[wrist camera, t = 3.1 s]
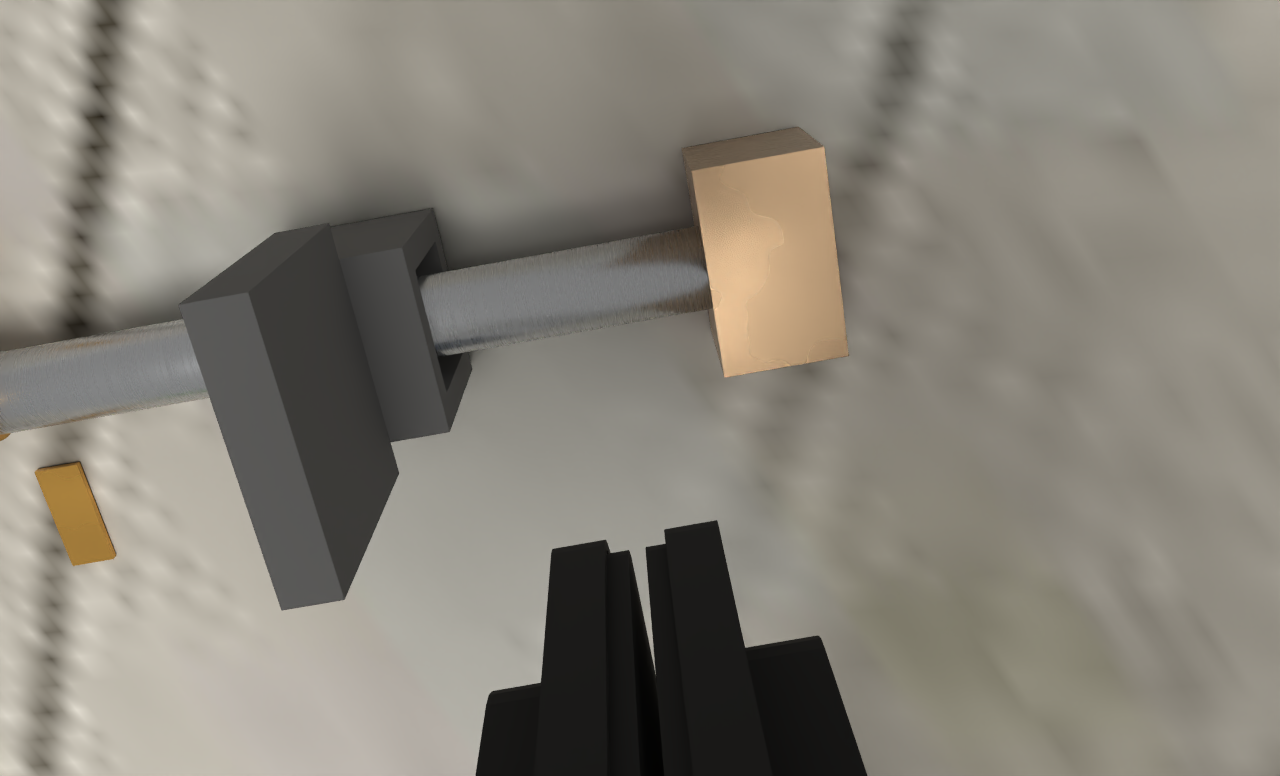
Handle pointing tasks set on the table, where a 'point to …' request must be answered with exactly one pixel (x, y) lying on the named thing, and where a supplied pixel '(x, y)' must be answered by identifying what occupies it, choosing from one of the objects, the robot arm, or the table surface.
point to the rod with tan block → (518, 306)
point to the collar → (324, 386)
